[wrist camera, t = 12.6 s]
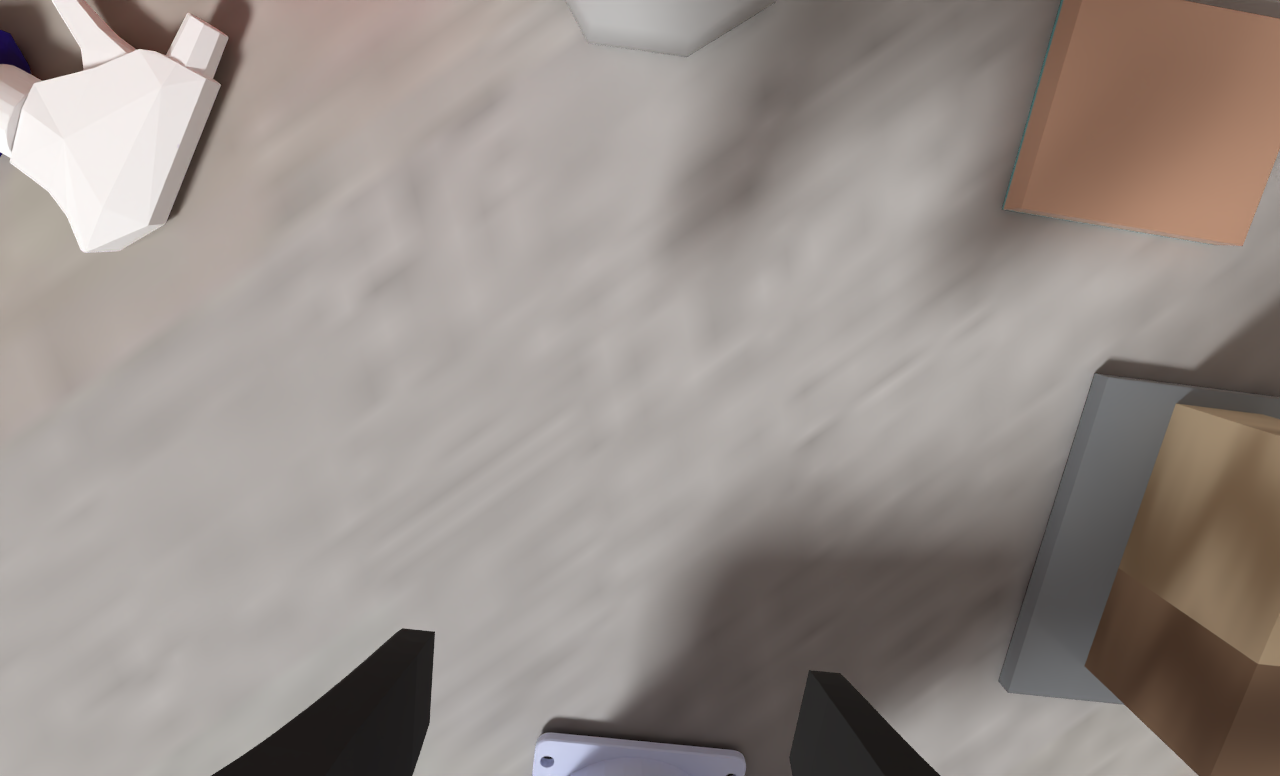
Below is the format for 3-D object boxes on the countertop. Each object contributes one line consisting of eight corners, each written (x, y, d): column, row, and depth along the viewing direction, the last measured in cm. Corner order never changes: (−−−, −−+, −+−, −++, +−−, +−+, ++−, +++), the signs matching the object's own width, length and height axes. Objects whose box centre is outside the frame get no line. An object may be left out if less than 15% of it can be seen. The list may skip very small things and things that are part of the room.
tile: (1242, 245, 19) (1325, 27, 17) (1021, 208, 19) (1087, -18, 17) (1199, 244, 20) (1272, 42, 19) (992, 209, 20) (1051, 1, 19)
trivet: (1199, 702, 24) (1214, 713, 23) (998, 681, 24) (1007, 692, 23) (1322, 402, 21) (1341, 407, 21) (1094, 373, 21) (1108, 377, 20)
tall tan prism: (1163, 674, 23) (1305, 793, 18) (1084, 666, 23) (1207, 783, 18) (1262, 414, 21) (1458, 470, 16) (1175, 403, 20) (1345, 457, 16)
